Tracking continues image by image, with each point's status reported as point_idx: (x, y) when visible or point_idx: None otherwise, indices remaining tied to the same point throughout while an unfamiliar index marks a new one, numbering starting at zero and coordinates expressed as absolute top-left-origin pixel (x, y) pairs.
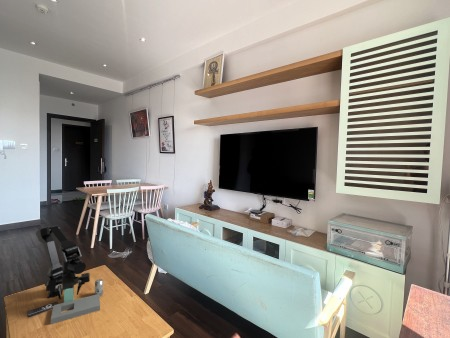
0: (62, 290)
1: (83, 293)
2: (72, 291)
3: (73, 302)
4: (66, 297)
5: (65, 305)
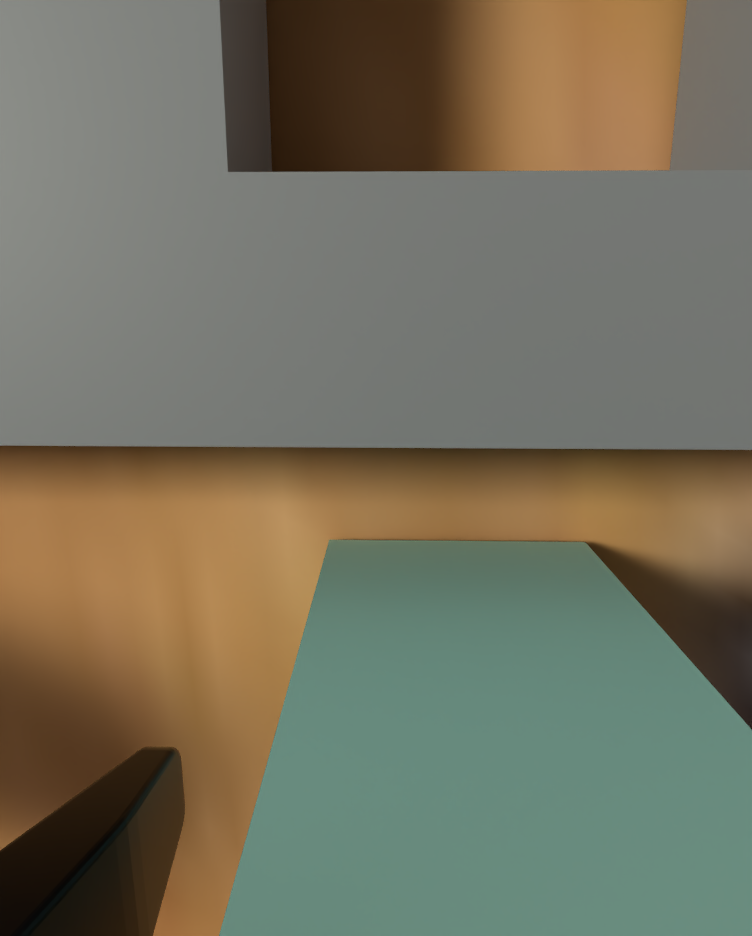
0: None
1: None
2: (286, 918)
3: (269, 244)
4: (598, 681)
5: (598, 177)
